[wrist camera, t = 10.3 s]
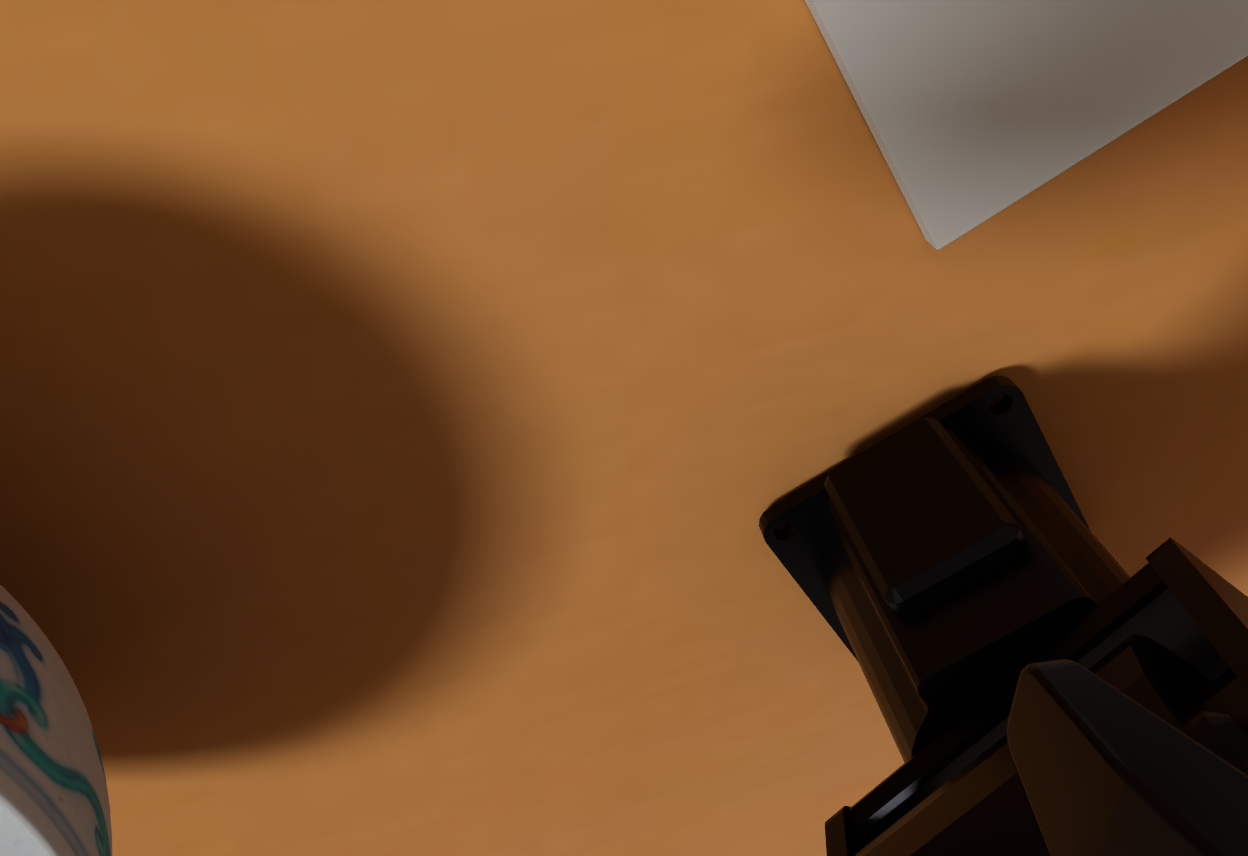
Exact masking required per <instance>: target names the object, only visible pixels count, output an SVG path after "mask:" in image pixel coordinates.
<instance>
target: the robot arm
mask: <svg viewBox="0 0 1248 856" xmlns="http://www.w3.org/2000/svg"><path fill="white" fill-rule="evenodd" d="M1000 395H1004V396H1003V398H1002V400H1001V401H1000V402H998V403H997V404H994V405H992V406H991V403H992V401H993V400H994V399H995V398H996V397H998V396H1000ZM782 523H789V524H788V525H787V526H786V527H785V528H782V529H775V528H776V527H777V526H778V525H779V524H782ZM759 527H760V529H761V532H762V534H763V537H764V539H765V542H766V543H767V544H768V546H769V547H770V548H771V550H772V551H773V552H774V553H775V555H776V556H777V557H778V559H779V560H780V561H781V563H782V564H783V565H784V566H785V568H786V569H787V570H788V572H789V573H790V574H791V575H792V577H793V578H794V579H795V581H796V582H797V583H798V584H799V586H800V587H801V588H802V590H803V591H804V592H805V594H806V595H807V596H808V597H809V599H810V600H811V601H812V603H813V604H814V605H815V606H816V608H817V609H818V610H819V612H820V613H821V614H822V615H823V617H824V618H825V619H826V621H827V622H828V623H829V625H830V626H831V627H832V628H833V630H834V631H835V632H836V634H837V635H838V636H839V637H840V639H841V640H842V641H843V643H844V644H845V645H846V646H847V648H848V649H849V650H850V652H851V653H852V654H853V656H854V657H855V658H856V659H857V661H858V662H859V664H860V666H861V668H862V671H863V673H864V675H865V677H866V679H867V681H868V684H869V686H870V688H871V690H872V692H873V695H874V697H875V699H876V701H877V703H878V705H879V708H880V710H881V712H882V714H883V716H884V719H885V721H886V723H887V725H888V727H889V729H890V732H891V734H892V736H893V738H894V740H895V742H896V745H897V747H898V749H899V751H900V753H901V756H902V758H903V760H904V762H905V763H904V764H903V765H902V766H901V767H899V768H898V769H897V770H896V771H895V772H893V773H892V774H891V775H890V776H889V777H887V778H886V779H885V780H884V781H882V782H881V783H880V784H879V785H878V786H876V787H875V788H874V789H873V790H871V791H870V792H869V793H868V794H867V795H865V796H864V797H863V798H862V799H861V800H859V801H858V802H857V803H856V804H854V805H853V806H852V807H849V806H844V807H843V808H842V809H841V810H839V811H838V812H837V813H836V814H834V815H833V816H832V817H831V818H830V819H828V820H827V821H826V822H825V834H826V849H827V856H1248V597H1247V596H1246V595H1244V594H1243V593H1242V592H1240V591H1239V590H1238V589H1237V588H1235V587H1234V586H1233V585H1231V584H1230V583H1229V582H1227V581H1226V580H1225V579H1224V578H1222V577H1221V576H1220V575H1218V574H1217V573H1216V572H1215V571H1213V570H1212V569H1211V568H1209V567H1208V566H1207V565H1206V564H1204V563H1203V562H1202V561H1200V560H1199V559H1198V558H1197V557H1195V556H1194V555H1193V554H1191V553H1190V552H1189V551H1188V550H1186V549H1185V548H1184V547H1182V546H1181V545H1180V544H1179V543H1177V542H1176V541H1175V540H1173V539H1172V538H1169V539H1168V540H1167V541H1166V542H1164V543H1163V544H1162V545H1161V546H1159V547H1158V548H1157V549H1156V550H1155V551H1153V552H1152V553H1151V554H1150V555H1149V556H1147V557H1146V559H1147V561H1148V562H1149V563H1148V564H1147V565H1145V566H1144V567H1143V568H1142V569H1141V570H1139V571H1138V572H1137V573H1136V574H1134V575H1133V576H1132V577H1131V578H1130V576H1129V575H1128V574H1127V573H1126V572H1125V571H1124V569H1123V568H1122V567H1121V566H1120V565H1119V564H1118V562H1117V561H1116V560H1115V559H1114V558H1113V557H1112V556H1111V554H1110V553H1109V552H1108V551H1107V550H1106V549H1105V547H1104V546H1103V545H1102V544H1101V543H1100V542H1099V540H1098V539H1097V538H1096V537H1095V536H1094V535H1093V534H1092V532H1091V531H1090V530H1089V527H1088V525H1087V523H1086V521H1085V519H1084V517H1083V515H1082V513H1081V511H1080V509H1079V507H1078V505H1077V503H1076V501H1075V499H1074V497H1073V495H1072V493H1071V491H1070V489H1069V487H1068V485H1067V483H1066V481H1065V479H1064V477H1063V475H1062V472H1061V470H1060V468H1059V466H1058V464H1057V462H1056V460H1055V458H1054V456H1053V454H1052V452H1051V450H1050V448H1049V446H1048V444H1047V442H1046V440H1045V438H1044V436H1043V434H1042V432H1041V430H1040V428H1039V426H1038V424H1037V422H1036V420H1035V417H1034V415H1033V413H1032V411H1031V409H1030V407H1029V405H1028V403H1027V401H1026V399H1025V397H1024V395H1023V393H1022V392H1021V391H1020V389H1019V388H1018V387H1017V386H1016V385H1015V384H1014V383H1013V382H1012V381H1011V380H1010V379H1009V378H1006V377H1004V376H994V377H991V378H989V379H986V380H984V381H983V382H981V383H979V384H977V385H976V386H974V387H972V388H971V389H969V390H967V391H966V392H964V393H962V394H961V395H959V396H957V397H955V398H954V399H952V400H950V401H949V402H947V403H945V404H944V405H942V406H940V407H939V408H937V409H935V410H933V411H932V412H930V413H928V414H927V415H925V416H923V417H922V418H920V419H918V420H917V421H915V422H913V423H912V424H910V425H908V426H906V427H905V428H903V429H901V430H900V431H898V432H896V433H895V434H893V435H891V436H890V437H888V438H886V439H884V440H883V441H881V442H879V443H878V444H876V445H874V446H873V447H871V448H869V449H868V450H866V451H864V452H862V453H861V454H859V455H857V456H856V457H854V458H852V459H851V460H849V461H847V462H846V463H844V464H842V465H841V466H839V467H837V468H835V469H834V470H832V471H830V472H829V473H827V474H825V475H824V476H822V477H820V478H819V479H817V480H815V481H813V482H812V483H810V484H808V485H807V486H805V487H803V488H802V489H800V490H798V491H797V492H795V493H793V494H791V495H790V496H788V497H786V498H785V499H783V500H781V501H780V502H778V503H776V504H775V505H773V506H771V507H770V508H768V509H767V510H766V511H765V512H764V513H763V514H762V516H761V518H760V521H759Z"/></svg>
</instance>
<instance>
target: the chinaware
mask: <svg viewBox="0 0 1248 856" xmlns="http://www.w3.org/2000/svg"><path fill="white" fill-rule="evenodd" d="M0 856H112V833H111V818H110V807H109V799H108V792H107V785H106V779H105V773H104V768H103V764H102V759H101V755H100V751H99V747H98V743H97V740H96V736H95V733H94V730H93V727H92V724H91V721H90V718H89V715H88V713H87V710H86V708H85V705H84V703H83V700H82V698H81V696H80V694H79V692H78V689H77V687H76V685H75V683H74V681H73V679H72V677H71V675H70V674H69V672H68V670H67V668H66V666H65V665H64V663H63V661H62V660H61V658H60V656H59V655H58V653H57V652H56V650H55V648H54V647H53V646H52V644H51V643H50V641H49V640H48V638H47V637H46V636H45V634H44V633H43V631H42V630H41V629H40V628H39V626H38V625H37V624H36V622H35V621H34V620H33V619H32V617H31V616H30V615H29V614H28V613H27V612H26V610H25V609H24V608H23V607H22V606H21V605H20V604H19V603H18V602H17V601H16V600H15V598H14V597H13V596H12V595H11V594H10V593H9V592H8V591H7V590H6V589H5V588H4V587H3V586H2V585H1V584H0Z"/></svg>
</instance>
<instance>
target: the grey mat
mask: <svg viewBox="0 0 1248 856" xmlns="http://www.w3.org/2000/svg"><path fill="white" fill-rule="evenodd" d="M805 2H806V4H807V6H808V8H809V10H810V12H811V14H812V16H813V18H814V20H815V21H816V23H817V25H818V27H819V29H820V31H821V33H822V35H823V37H824V39H825V41H826V43H827V45H828V47H829V49H830V51H831V53H832V55H833V57H834V59H835V61H836V63H837V65H838V67H839V69H840V71H841V73H842V75H843V77H844V79H845V81H846V83H847V85H848V87H849V89H850V91H851V93H852V95H853V97H854V99H855V101H856V103H857V105H858V107H859V109H860V111H861V112H862V114H863V116H864V118H865V120H866V122H867V124H868V126H869V128H870V130H871V132H872V134H873V136H874V138H875V140H876V142H877V144H878V146H879V148H880V150H881V152H882V154H883V156H884V158H885V160H886V162H887V164H888V166H889V168H890V170H891V172H892V174H893V176H894V178H895V180H896V182H897V184H898V186H899V188H900V190H901V192H902V194H903V196H904V198H905V200H906V202H907V203H908V205H909V207H910V209H911V211H912V213H913V215H914V217H915V219H916V221H917V223H918V225H919V227H920V229H921V231H922V233H923V235H924V237H925V239H926V240H927V241H928V242H929V243H930V244H931V245H932V246H933V247H934V248H935V249H937V250H939V249H941V248H942V247H944V246H946V245H947V244H949V243H950V242H952V241H954V240H955V239H957V238H958V237H960V236H961V235H963V234H965V233H966V232H968V231H969V230H971V229H973V228H974V227H976V226H977V225H979V224H981V223H982V222H984V221H985V220H987V219H989V218H990V217H992V216H993V215H995V214H997V213H998V212H1000V211H1001V210H1003V209H1004V208H1006V207H1008V206H1009V205H1011V204H1012V203H1014V202H1016V201H1017V200H1019V199H1020V198H1022V197H1024V196H1025V195H1027V194H1028V193H1030V192H1032V191H1033V190H1035V189H1036V188H1038V187H1040V186H1041V185H1043V184H1044V183H1046V182H1048V181H1049V180H1051V179H1052V178H1054V177H1055V176H1057V175H1059V174H1060V173H1062V172H1063V171H1065V170H1067V169H1068V168H1070V167H1071V166H1073V165H1075V164H1076V163H1078V162H1079V161H1081V160H1083V159H1084V158H1086V157H1087V156H1089V155H1091V154H1092V153H1094V152H1095V151H1097V150H1099V149H1100V148H1102V147H1103V146H1105V145H1106V144H1108V143H1110V142H1111V141H1113V140H1114V139H1116V138H1118V137H1119V136H1121V135H1122V134H1124V133H1126V132H1127V131H1129V130H1130V129H1132V128H1134V127H1135V126H1137V125H1138V124H1140V123H1142V122H1143V121H1145V120H1146V119H1148V118H1150V117H1151V116H1153V115H1154V114H1156V113H1157V112H1159V111H1161V110H1162V109H1164V108H1165V107H1167V106H1169V105H1170V104H1172V103H1173V102H1175V101H1177V100H1178V99H1180V98H1181V97H1183V96H1185V95H1186V94H1188V93H1189V92H1191V91H1193V90H1194V89H1196V88H1197V87H1199V86H1201V85H1202V84H1204V83H1205V82H1207V81H1208V80H1210V79H1212V78H1213V77H1215V76H1216V75H1218V74H1220V73H1221V72H1223V71H1224V70H1226V69H1228V68H1229V67H1231V66H1232V65H1234V64H1236V63H1237V62H1239V61H1240V60H1242V59H1244V58H1245V57H1247V56H1248V0H805Z"/></svg>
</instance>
